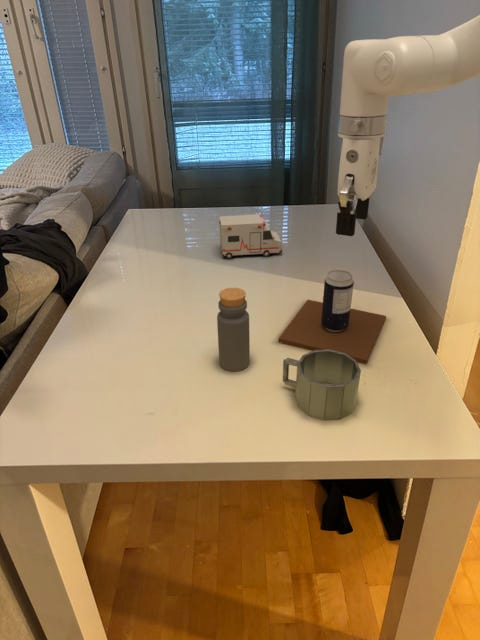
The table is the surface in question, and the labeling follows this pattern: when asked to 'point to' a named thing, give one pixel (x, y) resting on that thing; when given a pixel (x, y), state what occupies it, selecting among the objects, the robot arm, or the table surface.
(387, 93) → the robot arm
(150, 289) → the table surface
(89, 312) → the table surface
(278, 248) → the toy vehicle
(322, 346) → the mat
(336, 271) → the beverage can
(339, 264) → the table surface
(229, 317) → the bottle
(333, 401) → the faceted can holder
